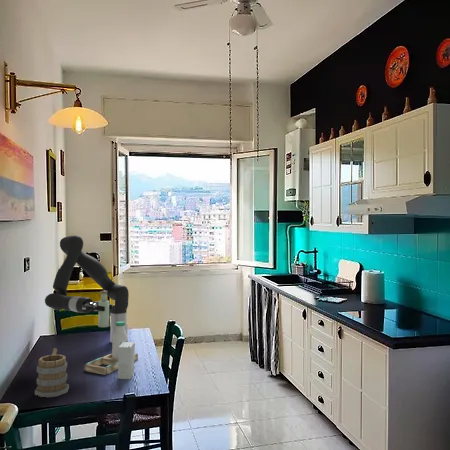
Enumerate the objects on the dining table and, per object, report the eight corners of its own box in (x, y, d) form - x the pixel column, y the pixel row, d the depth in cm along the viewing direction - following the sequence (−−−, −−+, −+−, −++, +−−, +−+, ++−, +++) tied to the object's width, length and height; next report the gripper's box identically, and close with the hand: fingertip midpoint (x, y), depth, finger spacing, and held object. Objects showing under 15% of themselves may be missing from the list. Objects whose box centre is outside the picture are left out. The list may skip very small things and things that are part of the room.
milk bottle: (114, 364, 222) (114, 324, 221) (110, 360, 229) (110, 321, 228) (129, 362, 225) (129, 322, 225) (125, 358, 232) (125, 319, 232)
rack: (117, 356, 235) (117, 350, 235) (137, 359, 230) (137, 353, 230) (84, 371, 212) (84, 364, 212) (105, 374, 207) (105, 367, 207)
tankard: (66, 396, 182) (66, 359, 182) (32, 398, 179) (32, 361, 179) (72, 379, 202) (72, 345, 202) (42, 381, 199) (42, 347, 199)
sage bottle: (102, 324, 219) (103, 289, 218) (111, 325, 217) (111, 290, 216) (95, 326, 214) (96, 291, 214) (104, 327, 212) (104, 292, 212)
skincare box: (122, 373, 210) (122, 341, 210) (134, 373, 210) (135, 341, 209) (117, 379, 201) (117, 346, 201) (131, 379, 201) (131, 346, 201)
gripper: (70, 299, 215) (98, 302, 207) (90, 294, 228) (117, 297, 221) (70, 315, 215) (98, 318, 208) (90, 309, 228) (117, 312, 221)
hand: (108, 307), depth 214 cm, fingers closed on sage bottle, 5 cm apart
